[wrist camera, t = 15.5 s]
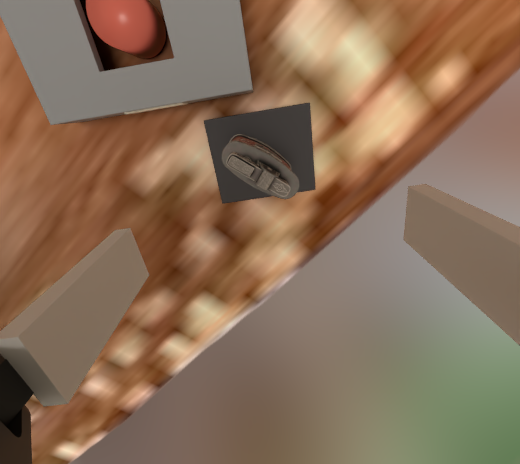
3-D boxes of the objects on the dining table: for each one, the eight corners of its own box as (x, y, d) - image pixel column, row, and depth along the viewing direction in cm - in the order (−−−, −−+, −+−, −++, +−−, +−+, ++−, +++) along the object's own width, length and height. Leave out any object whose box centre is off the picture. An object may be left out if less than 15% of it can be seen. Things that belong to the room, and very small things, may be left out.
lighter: (296, 162, 32) (311, 184, 23) (281, 186, 33) (290, 215, 24) (237, 126, 30) (229, 135, 21) (224, 152, 31) (210, 171, 22)
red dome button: (126, 62, 27) (100, 53, 23) (107, 3, 25) (75, -20, 21) (171, 53, 27) (154, 43, 22) (156, -7, 25) (134, -32, 20)
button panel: (82, 123, 30) (51, 126, 26) (14, -41, 24) (-41, -74, 20) (253, 93, 29) (252, 91, 25) (227, -86, 23) (220, -132, 19)
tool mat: (223, 202, 35) (222, 203, 34) (204, 120, 30) (203, 120, 30) (314, 188, 34) (315, 189, 33) (308, 102, 30) (309, 102, 29)
